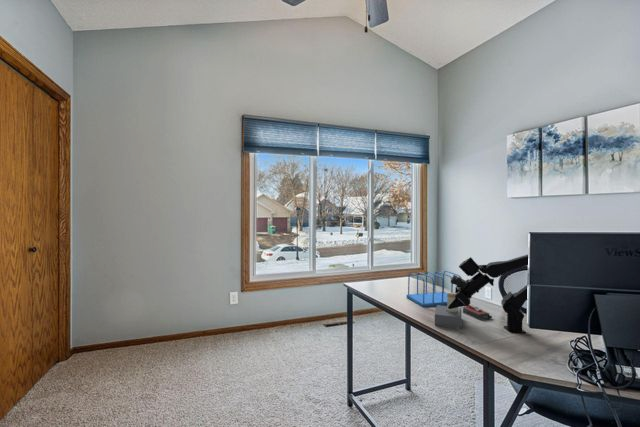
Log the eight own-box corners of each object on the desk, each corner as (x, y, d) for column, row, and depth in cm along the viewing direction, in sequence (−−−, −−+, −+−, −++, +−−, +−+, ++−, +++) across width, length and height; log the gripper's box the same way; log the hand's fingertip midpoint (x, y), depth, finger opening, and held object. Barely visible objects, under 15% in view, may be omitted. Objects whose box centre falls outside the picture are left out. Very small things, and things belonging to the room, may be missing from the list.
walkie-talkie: (495, 319, 153) (466, 306, 173) (496, 310, 153) (466, 298, 172) (480, 321, 151) (452, 308, 170) (480, 312, 151) (452, 299, 170)
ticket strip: (456, 321, 149) (456, 293, 149) (456, 322, 148) (456, 293, 147) (447, 320, 151) (447, 292, 150) (447, 321, 150) (447, 292, 149)
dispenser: (461, 318, 154) (461, 306, 154) (461, 328, 141) (461, 315, 141) (436, 315, 159) (436, 303, 158) (434, 325, 146) (434, 312, 145)
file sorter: (422, 307, 171) (423, 278, 170) (406, 298, 187) (406, 271, 187) (463, 303, 177) (463, 275, 176) (443, 294, 194) (444, 269, 193)
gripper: (461, 266, 155) (437, 286, 160) (462, 274, 138) (434, 297, 143) (479, 284, 153) (454, 304, 157) (482, 294, 135) (453, 317, 140)
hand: (448, 305), depth 150 cm, fingers open, 9 cm apart
